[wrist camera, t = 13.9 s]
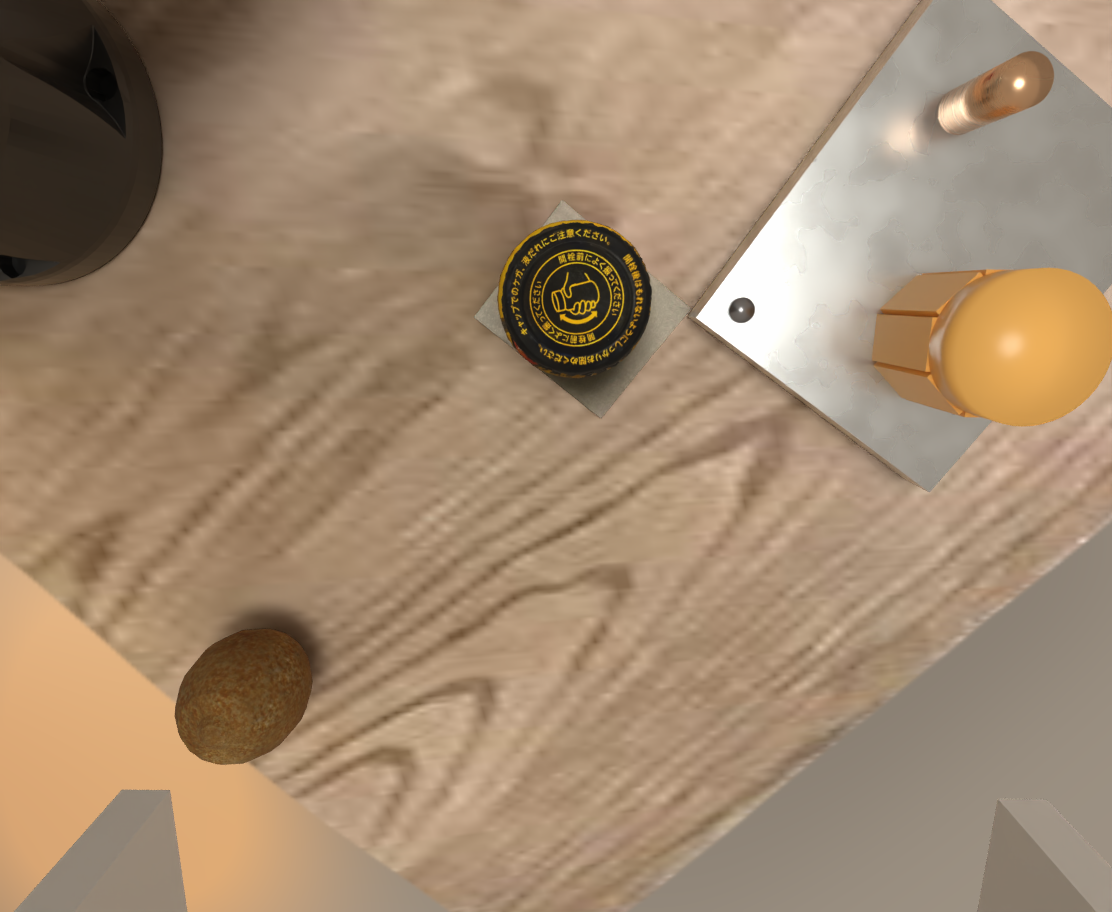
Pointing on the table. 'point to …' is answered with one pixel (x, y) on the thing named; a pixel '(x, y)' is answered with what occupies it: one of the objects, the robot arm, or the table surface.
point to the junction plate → (918, 218)
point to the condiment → (581, 307)
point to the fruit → (243, 696)
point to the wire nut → (996, 343)
